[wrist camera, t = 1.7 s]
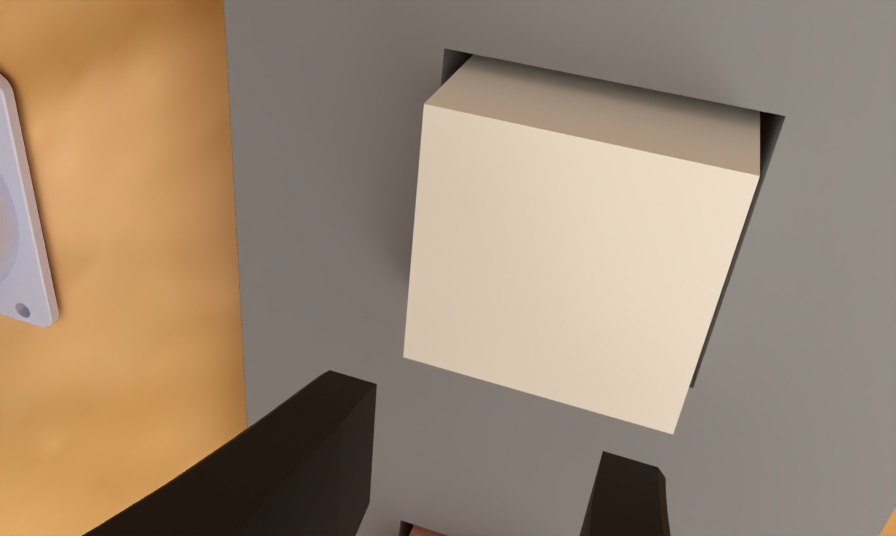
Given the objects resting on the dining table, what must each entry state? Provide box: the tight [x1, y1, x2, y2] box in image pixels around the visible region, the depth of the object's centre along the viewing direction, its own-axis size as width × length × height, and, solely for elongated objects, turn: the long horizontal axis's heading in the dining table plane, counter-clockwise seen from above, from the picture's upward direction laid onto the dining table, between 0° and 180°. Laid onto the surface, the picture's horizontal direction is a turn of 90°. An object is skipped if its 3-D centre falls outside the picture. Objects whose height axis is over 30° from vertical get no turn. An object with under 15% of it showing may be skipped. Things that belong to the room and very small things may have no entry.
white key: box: [403, 54, 760, 434], centre depth 15 cm, size 5×5×3 cm
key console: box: [224, 0, 896, 536], centre depth 19 cm, size 14×24×3 cm, turn 174°
